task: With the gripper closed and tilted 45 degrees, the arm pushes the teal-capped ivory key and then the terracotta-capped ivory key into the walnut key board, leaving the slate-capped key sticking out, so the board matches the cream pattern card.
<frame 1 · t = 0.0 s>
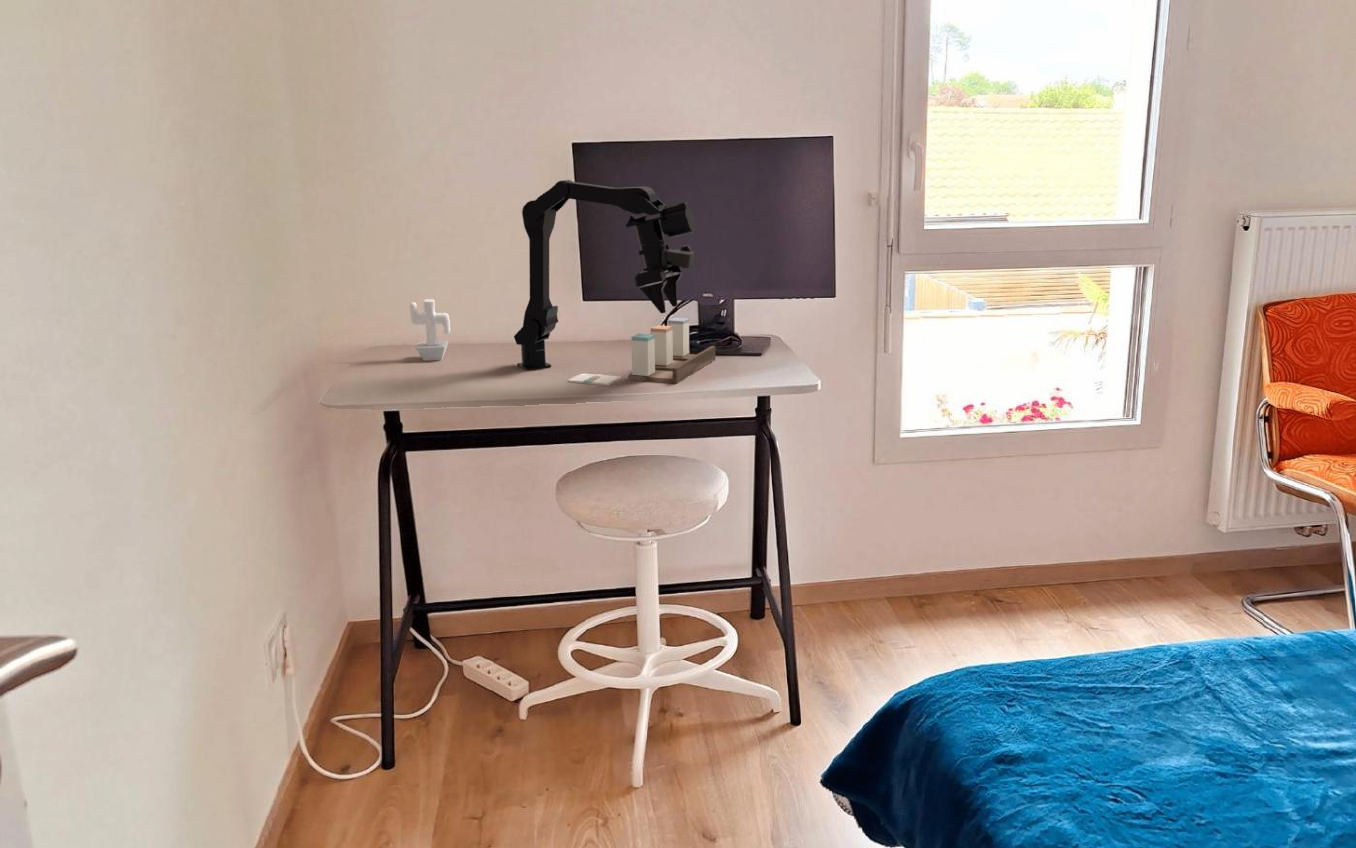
hand: (669, 309, 225), 15 cm above the table, tool pointing down, fingers open, 9 cm apart
pattern card: (594, 380, 225), on the table
teal key: (643, 354, 225), point 6 cm above the table, slide at 0.0 cm
terracotta key: (661, 345, 234), point 6 cm above the table, slide at 0.0 cm
figurine: (433, 359, 248), on the table
walnut key board: (673, 369, 235), on the table
slate key: (678, 336, 244), point 6 cm above the table, slide at 0.0 cm
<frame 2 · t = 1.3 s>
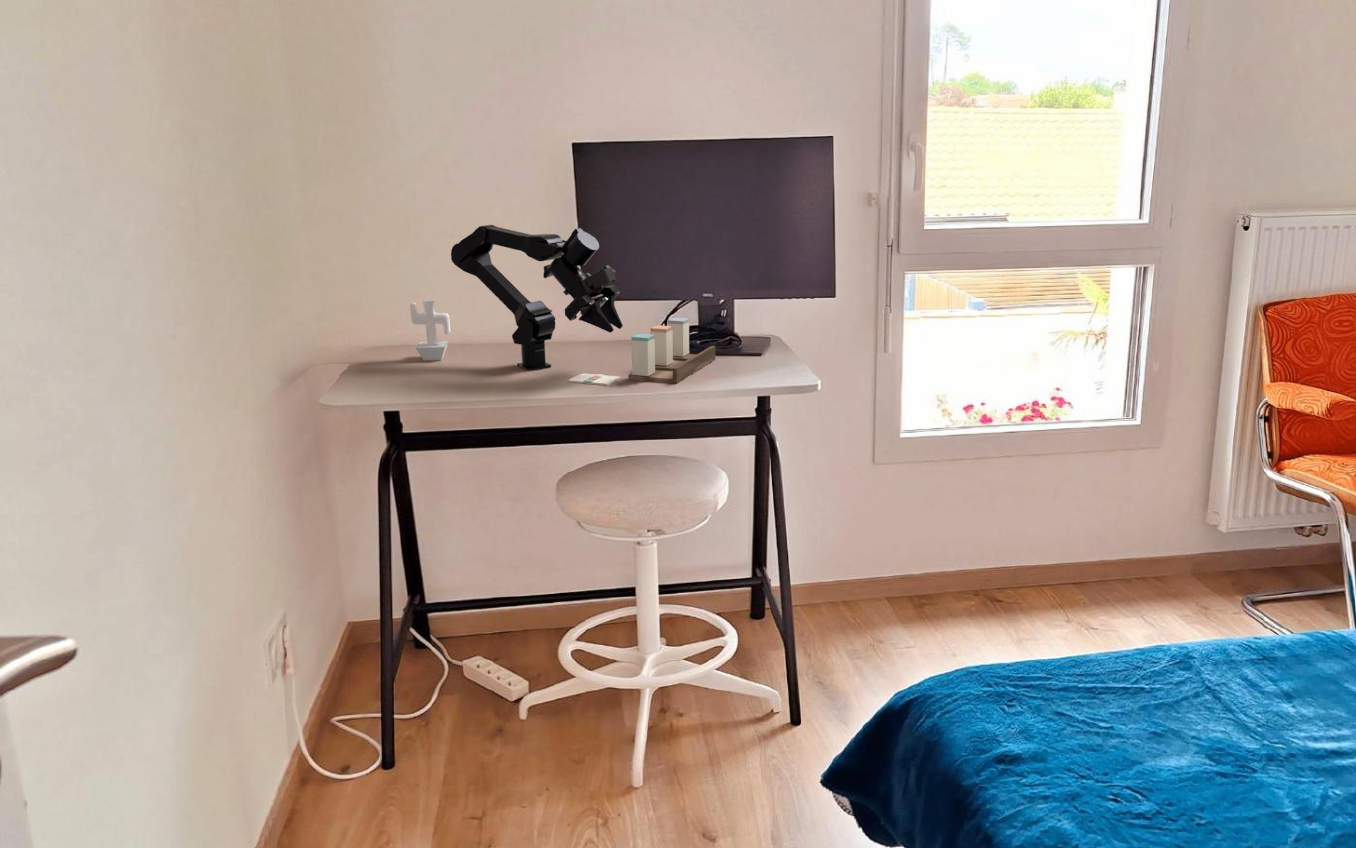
hand: (616, 329, 225), 11 cm above the table, tool tilted 45°, fingers open, 5 cm apart
nothing on the table moved.
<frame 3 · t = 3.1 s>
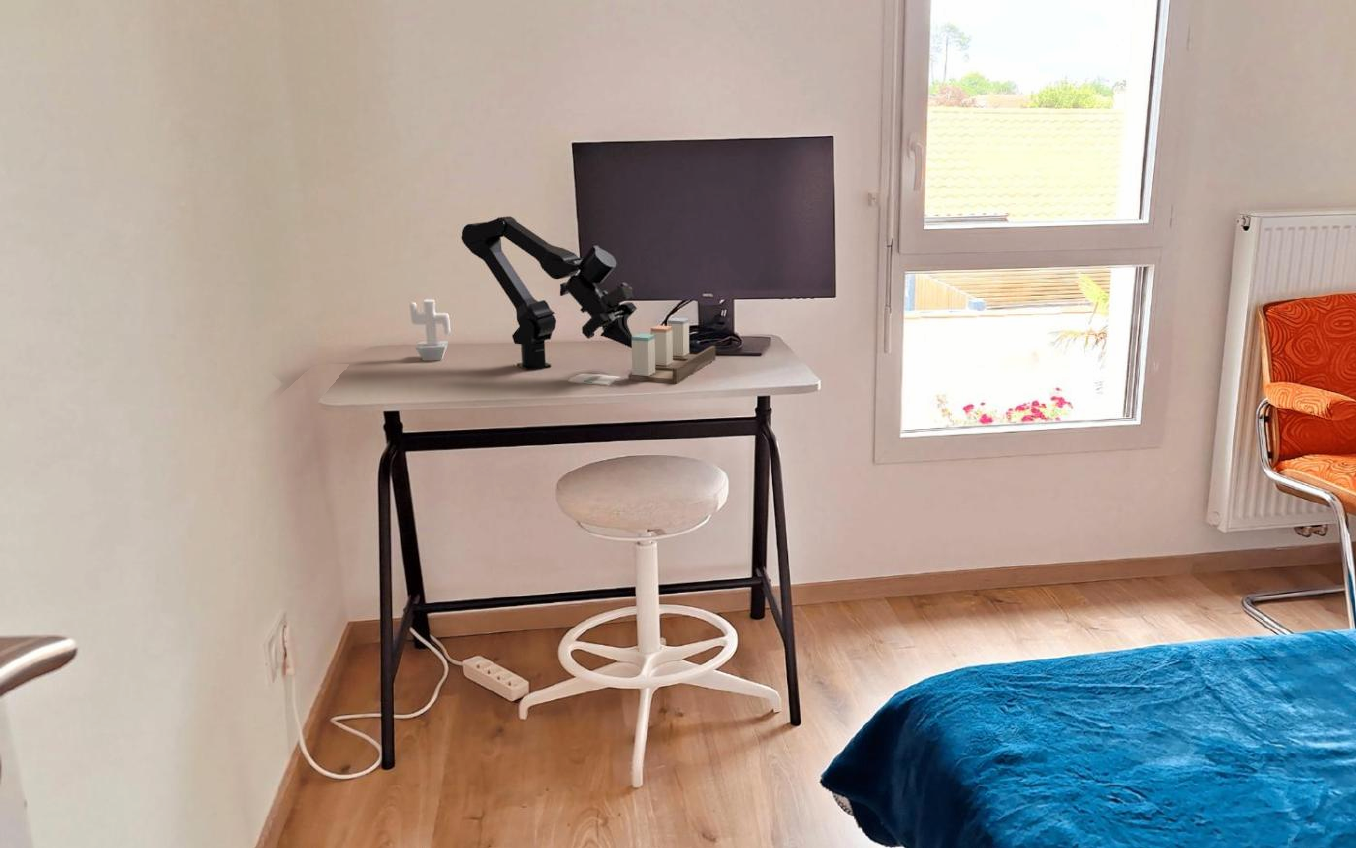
hand: (634, 346, 225), 7 cm above the table, tool tilted 45°, fingers closed, pressing on teal key
teal key: (643, 354, 225), point 6 cm above the table, slide at 0.0 cm, touching gripper
everything else where it was.
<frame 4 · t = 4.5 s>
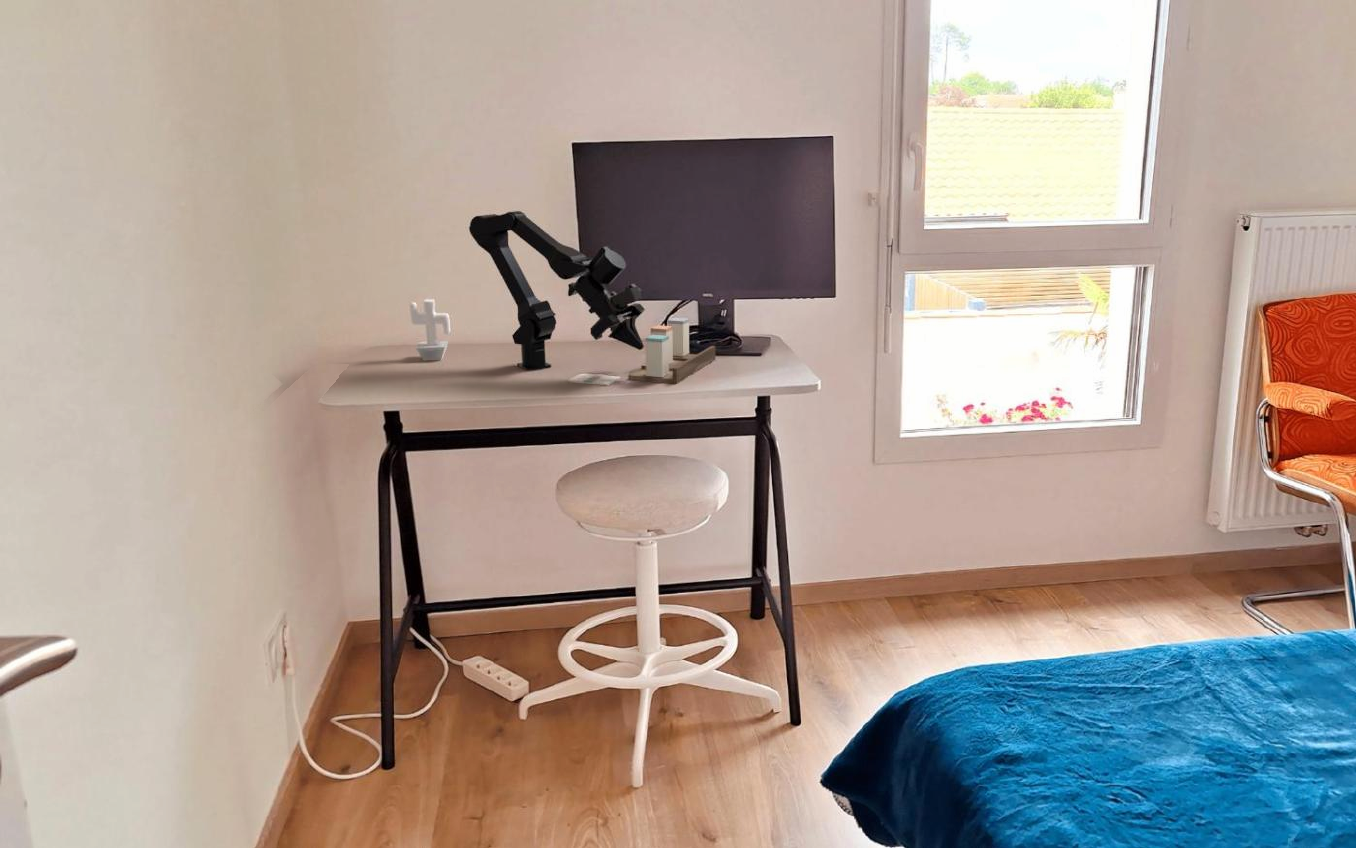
hand: (642, 348, 224), 7 cm above the table, tool tilted 45°, fingers closed
teal key: (657, 355, 223), point 6 cm above the table, slide at 3.5 cm
everything else where it was.
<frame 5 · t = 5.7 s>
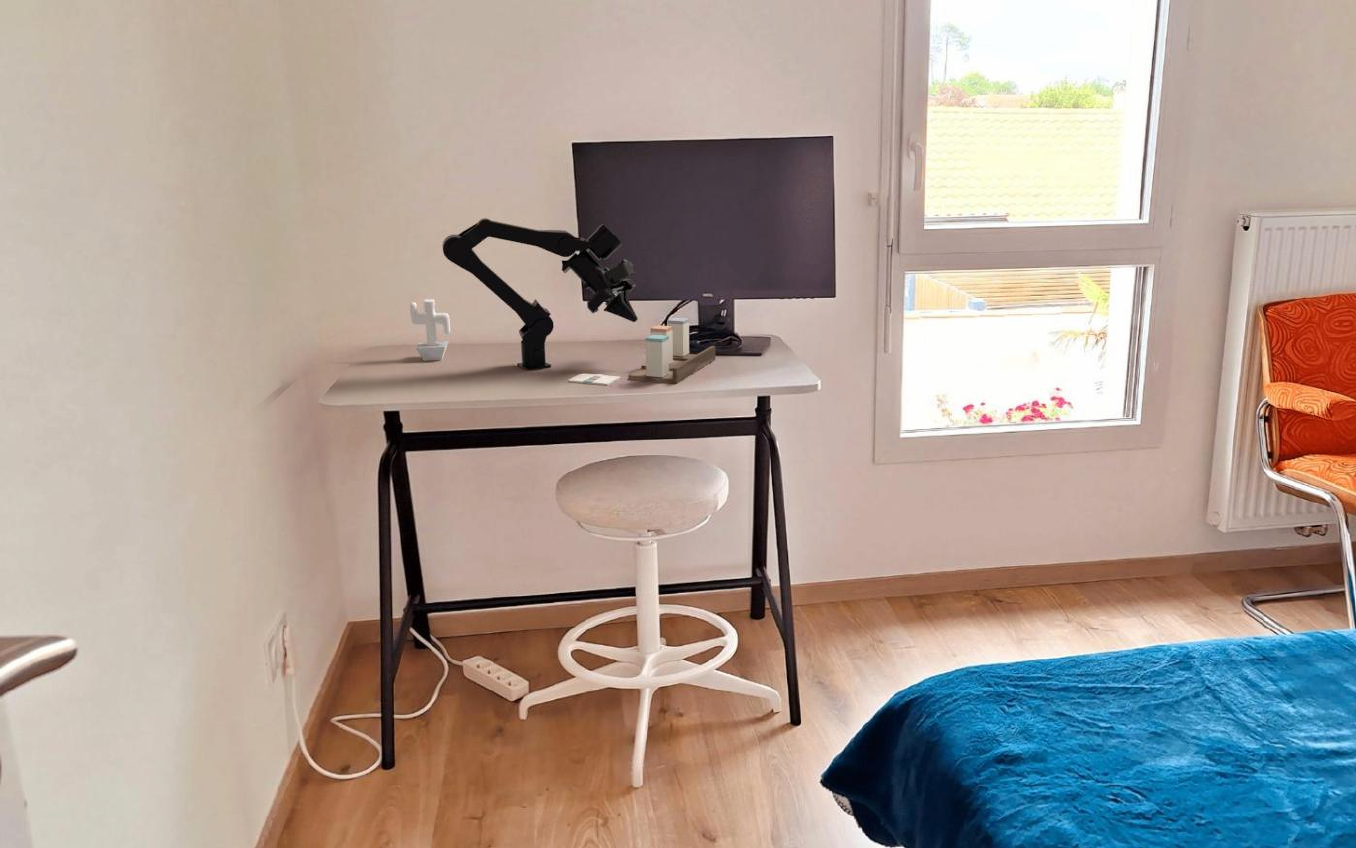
hand: (636, 320, 234), 11 cm above the table, tool tilted 45°, fingers closed
nothing on the table moved.
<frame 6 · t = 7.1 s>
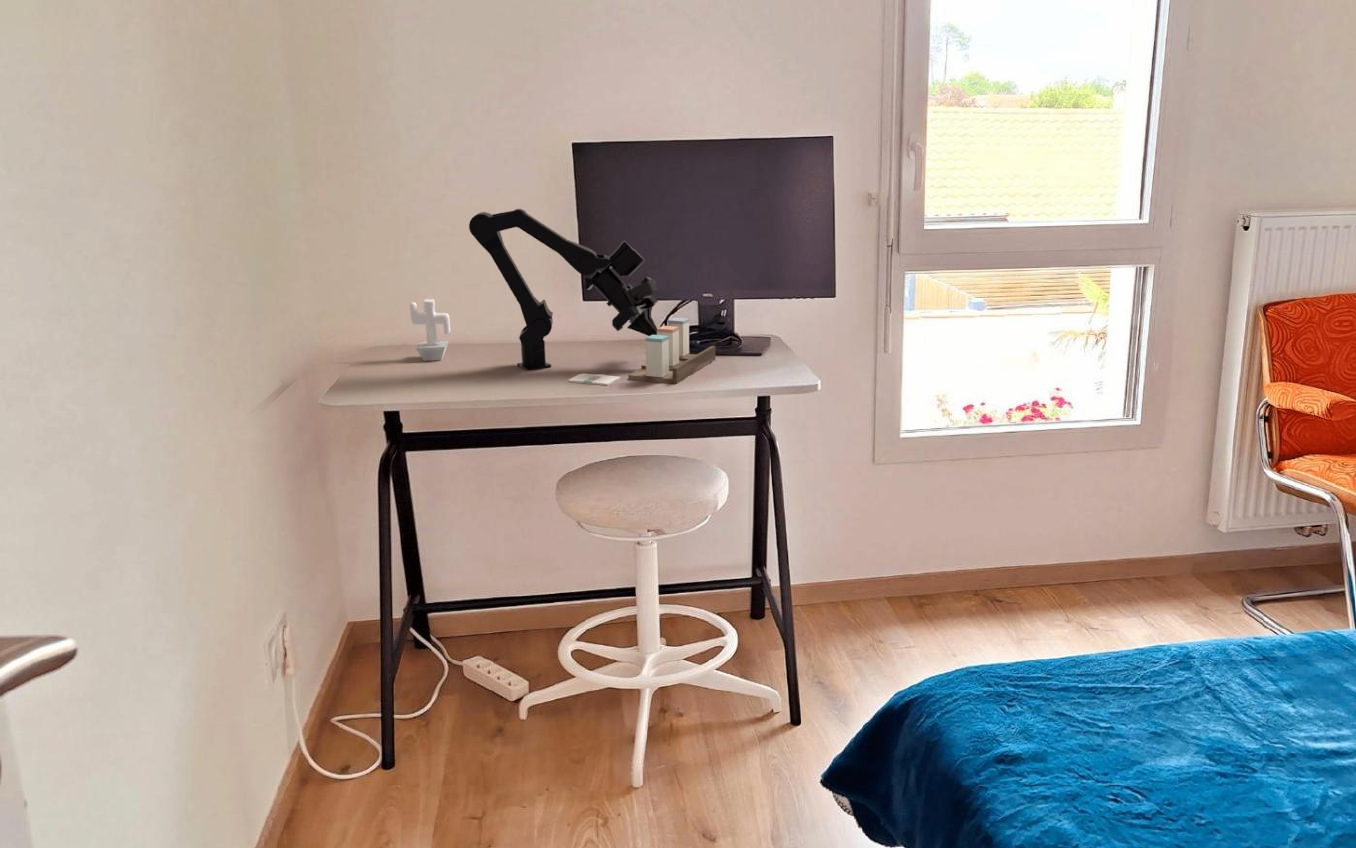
hand: (659, 338, 234), 7 cm above the table, tool tilted 45°, fingers closed
terracotta key: (668, 345, 234), point 6 cm above the table, slide at 1.6 cm, touching gripper
everything else where it was.
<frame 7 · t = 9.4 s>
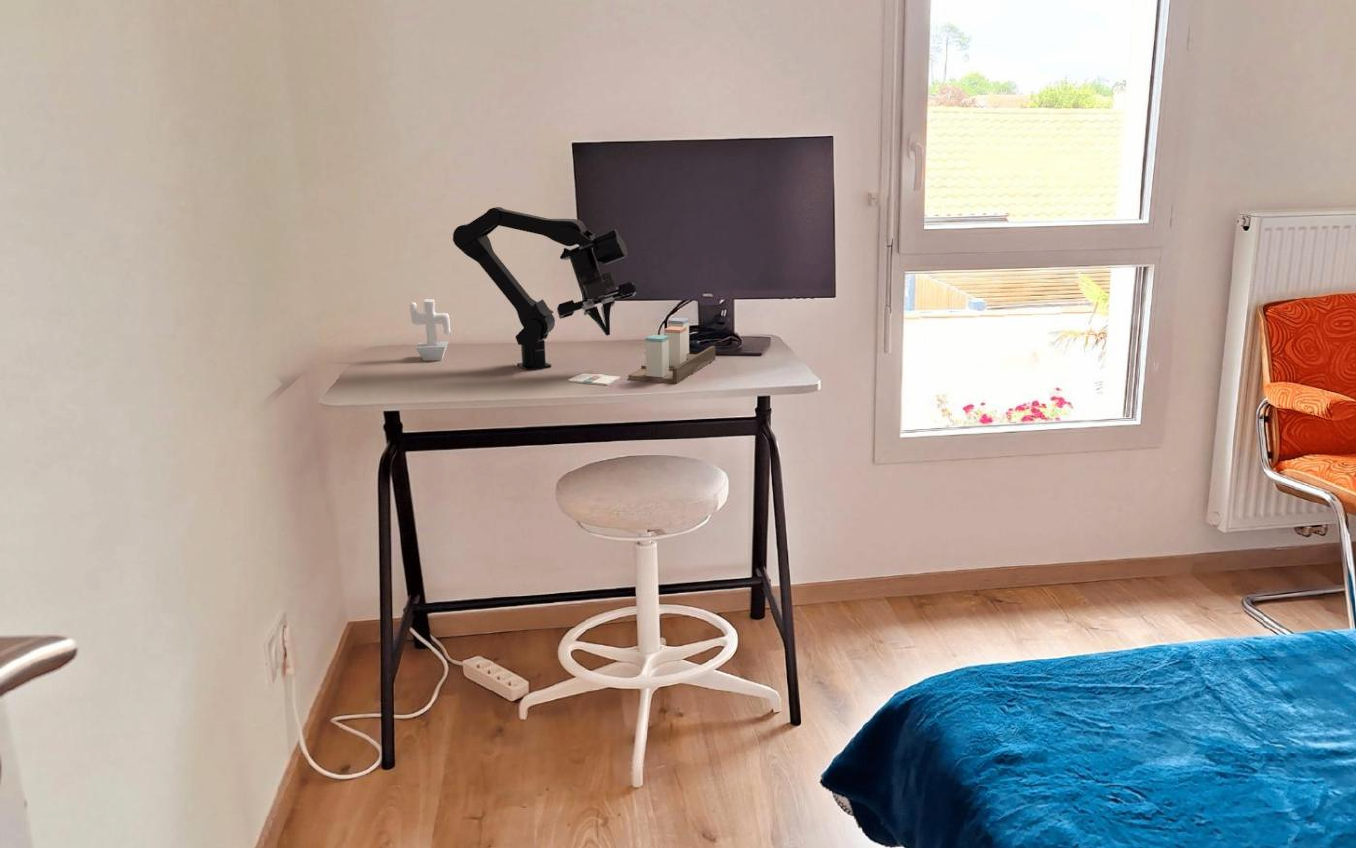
hand: (608, 335, 229), 9 cm above the table, tool tilted 25°, fingers closed
terracotta key: (675, 346, 233), point 6 cm above the table, slide at 3.5 cm
everything else where it was.
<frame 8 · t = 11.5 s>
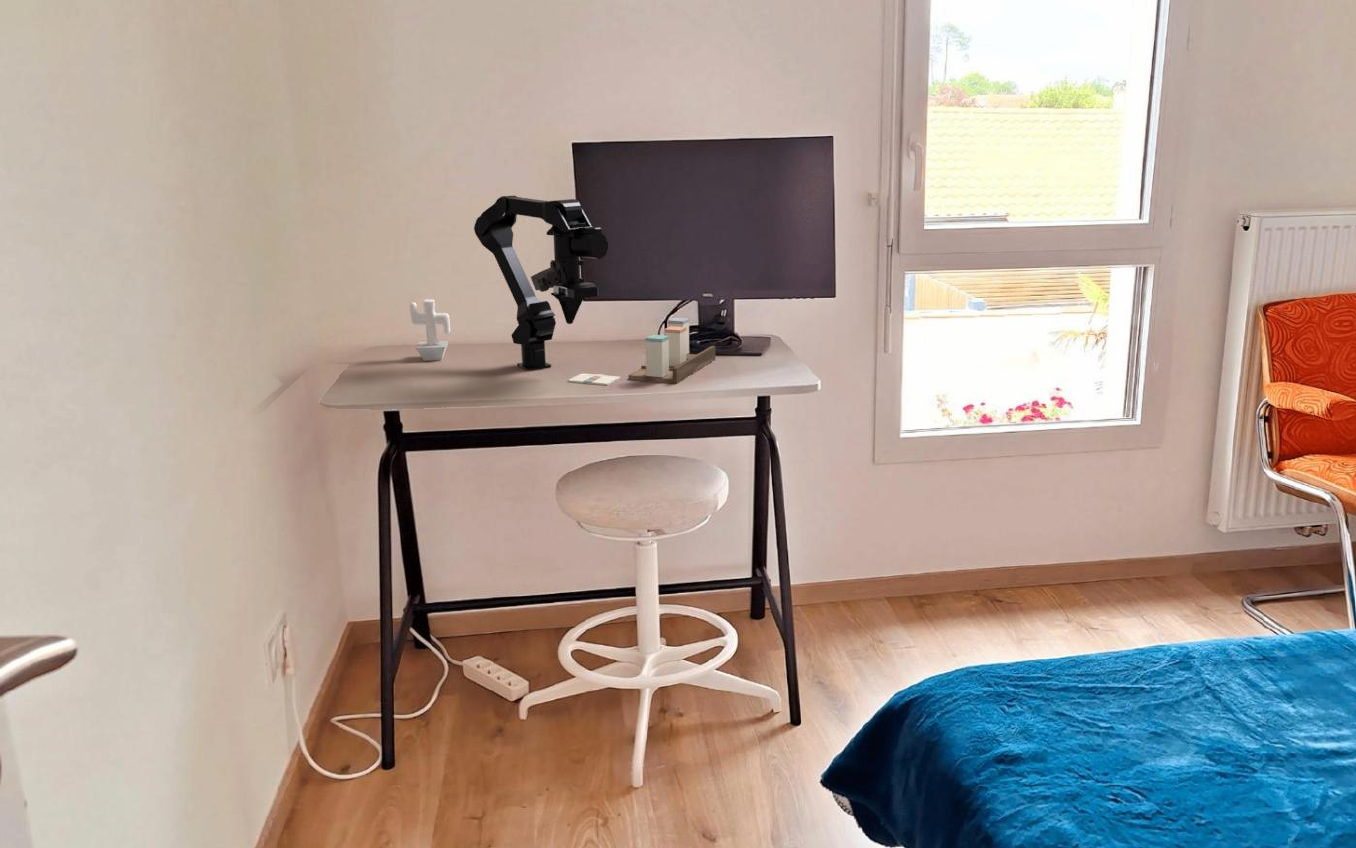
hand: (569, 323, 228), 12 cm above the table, tool pointing down, fingers closed
nothing on the table moved.
at the end: teal key slide at 3.5 cm; terracotta key slide at 3.5 cm; slate key slide at 0.0 cm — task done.
